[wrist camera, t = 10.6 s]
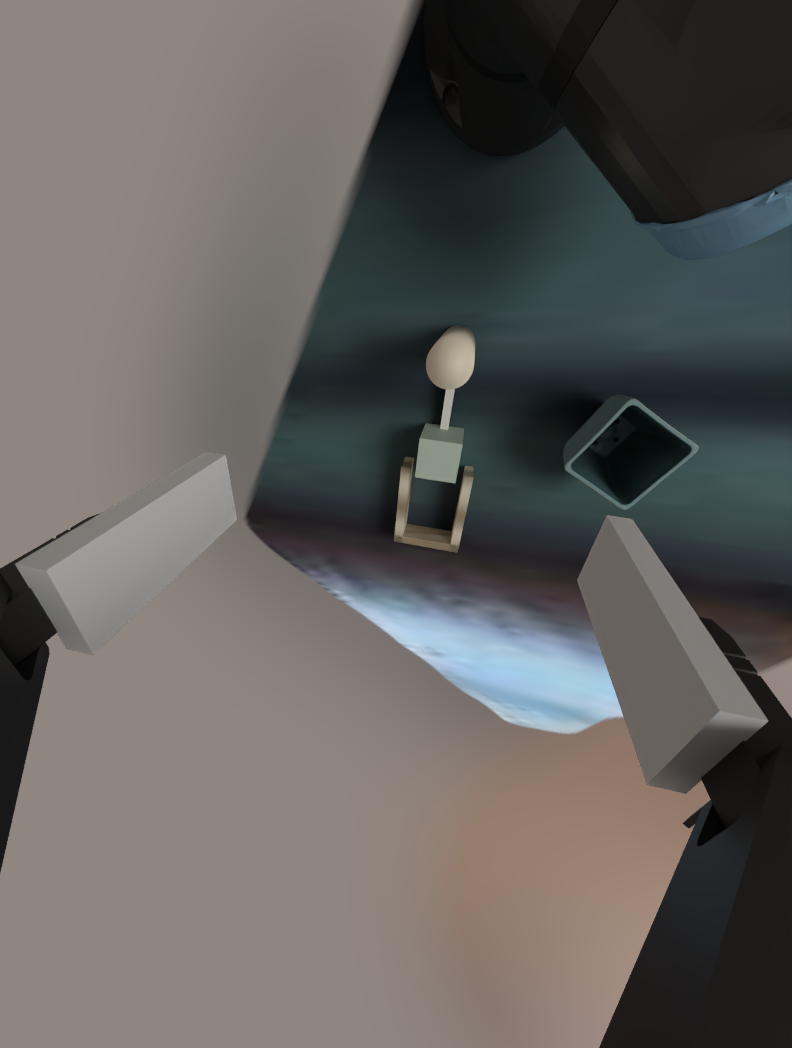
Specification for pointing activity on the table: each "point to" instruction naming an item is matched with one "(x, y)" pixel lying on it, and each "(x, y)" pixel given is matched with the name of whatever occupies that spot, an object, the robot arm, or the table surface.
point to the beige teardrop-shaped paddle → (446, 404)
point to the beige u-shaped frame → (427, 534)
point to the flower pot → (625, 451)
